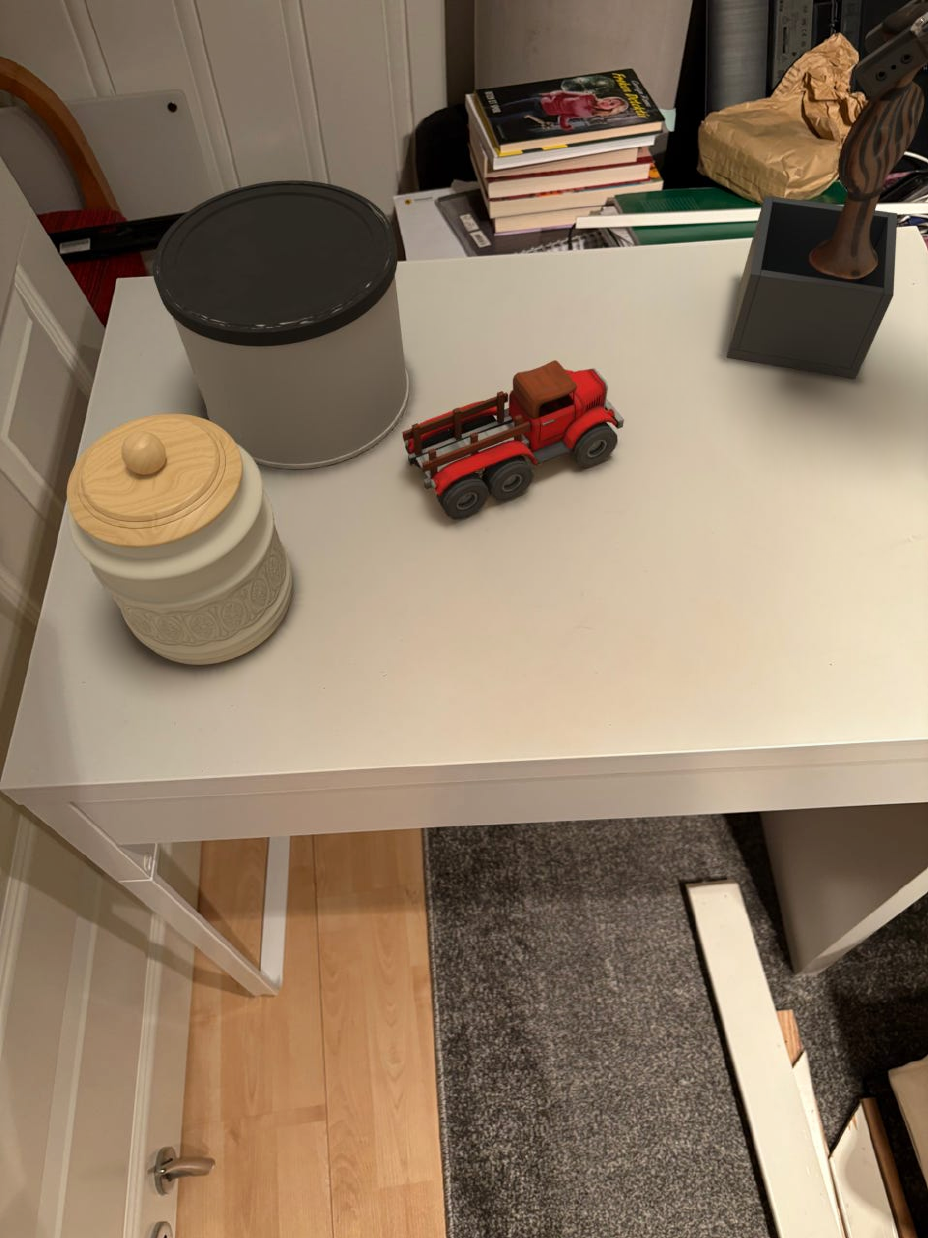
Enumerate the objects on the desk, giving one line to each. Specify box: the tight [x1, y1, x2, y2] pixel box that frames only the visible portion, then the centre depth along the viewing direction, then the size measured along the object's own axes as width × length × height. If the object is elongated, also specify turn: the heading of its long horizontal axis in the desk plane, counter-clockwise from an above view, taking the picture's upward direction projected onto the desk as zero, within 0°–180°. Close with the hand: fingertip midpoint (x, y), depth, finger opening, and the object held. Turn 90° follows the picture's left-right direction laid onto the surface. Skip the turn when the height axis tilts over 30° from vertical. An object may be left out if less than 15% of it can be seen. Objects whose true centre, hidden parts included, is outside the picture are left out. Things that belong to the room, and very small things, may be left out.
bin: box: [726, 195, 898, 379], centre depth 80 cm, size 12×12×9 cm
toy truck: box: [401, 359, 625, 520], centre depth 73 cm, size 8×18×8 cm, turn 117°
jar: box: [66, 413, 293, 666], centre depth 62 cm, size 13×13×18 cm
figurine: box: [809, 2, 928, 279], centre depth 61 cm, size 7×5×18 cm
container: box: [152, 179, 410, 470], centre depth 75 cm, size 19×19×15 cm
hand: (867, 66), depth 58 cm, fingers closed on figurine, 3 cm apart
